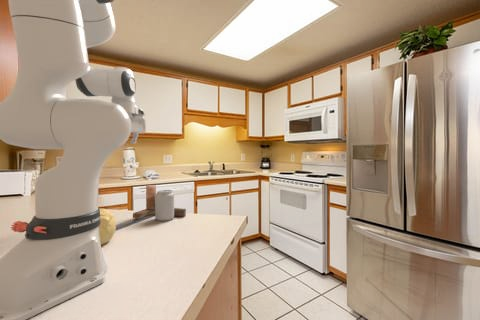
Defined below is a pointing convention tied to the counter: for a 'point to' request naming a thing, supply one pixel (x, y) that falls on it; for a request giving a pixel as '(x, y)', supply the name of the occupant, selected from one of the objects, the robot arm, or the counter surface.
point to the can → (164, 205)
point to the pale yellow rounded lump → (106, 226)
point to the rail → (132, 222)
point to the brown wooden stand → (151, 205)
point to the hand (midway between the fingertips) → (124, 143)
